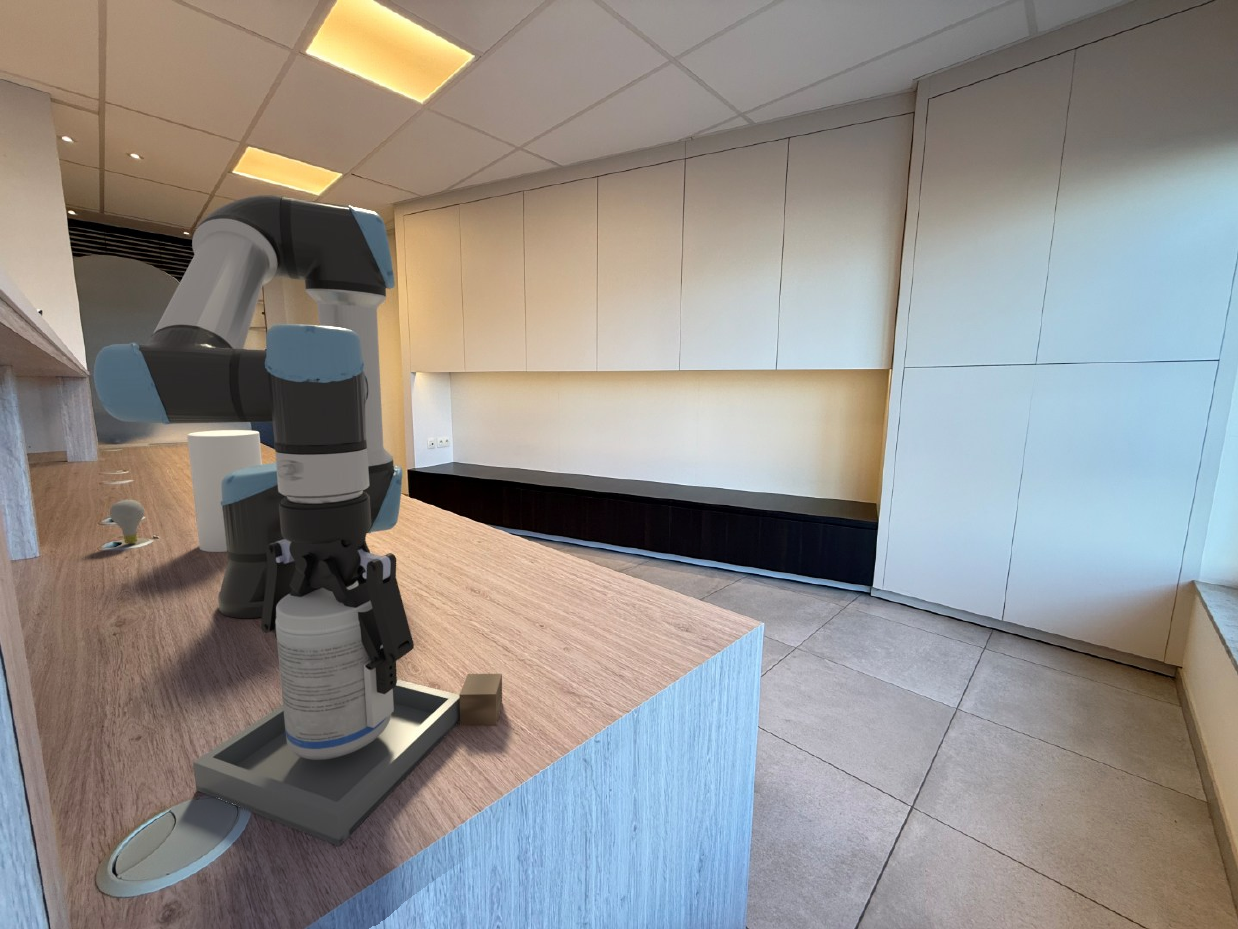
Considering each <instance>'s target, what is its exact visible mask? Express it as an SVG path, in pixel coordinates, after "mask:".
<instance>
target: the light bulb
mask: <svg viewBox="0 0 1238 929" xmlns="http://www.w3.org/2000/svg"><path fill="white" fill-rule="evenodd" d="M144 516H145V508H144V506H143V504H141V502H139V501H137V500H135V499H121V500H119V501H117V502H115V503H114V504H113V505H112V506H111V507H110V510H109V517H110V518H111V520H112V521H113V522H114V523H115V524H116V525H117V526H118V527H119V528H120V529H121V531H122V535H123V539H124V543H125V544H128V545H134V544H135V543H136V542H138V536H137V534H138V526H139V525H140V523H141V521H142V519H143V518H144Z"/></svg>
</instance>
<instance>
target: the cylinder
mask: <svg viewBox="0 0 1238 929" xmlns="http://www.w3.org/2000/svg"><path fill="white" fill-rule="evenodd" d="M186 435H187V436H186V437H187V438H186V440H187V448H188V456H189V458H188V459H189V466H190V474H191V484H192V494H193V500H194V510H195V517H196V518H195V519H196V529H197V535H198V536H197V537H198V546H199V550H201V551H203V552H208V553H223V552H224V553H225V552H226V553H227V545H226V536H225V527H224V518H223V509H222V505H221V501H222V489H221V484H222V480H223V479H224V477H225V476H227V475H228V474H230V473H232V472H234V471H237V470H240V469H244V468H248V467H252V466H257V465H263V461H262V460H263V459H262V448H261V438H260V436H261V434H260V432H259V431H257V430H248V429H247V430H246V429H243V430H241V429H225V430H222V429H221V430H208V431H196V432H191V433H187V434H186Z"/></svg>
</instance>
